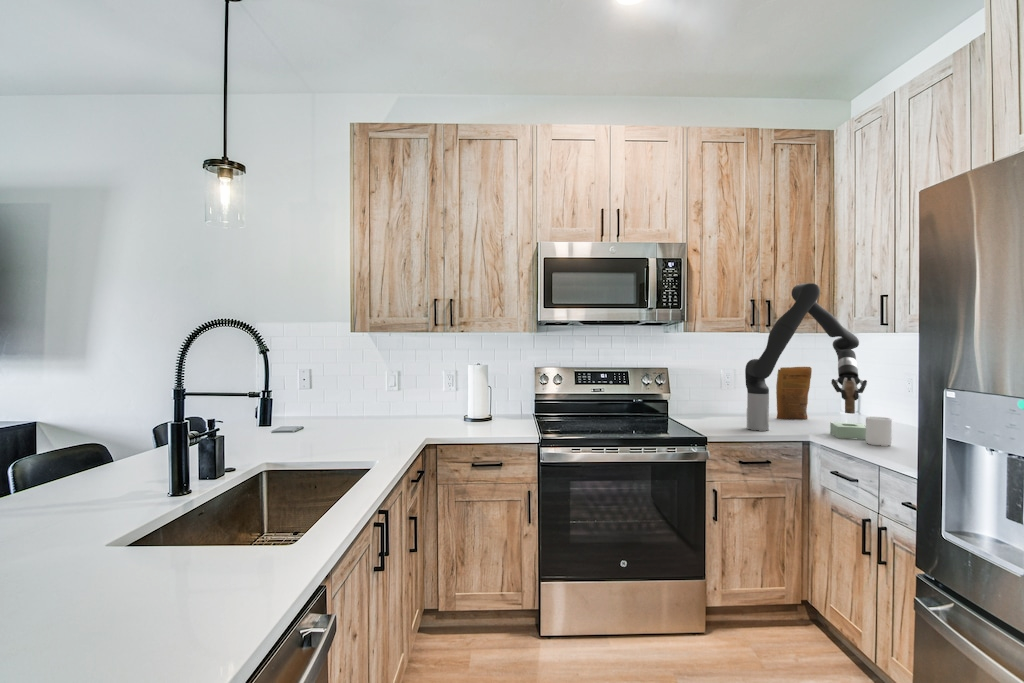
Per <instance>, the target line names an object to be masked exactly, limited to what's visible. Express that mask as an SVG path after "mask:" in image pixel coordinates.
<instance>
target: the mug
mask: <svg viewBox="0 0 1024 683" xmlns="http://www.w3.org/2000/svg"><path fill="white" fill-rule="evenodd" d="M892 420H893V419H892V418H889V417H884V416H865V426H866V440H865V443H866V444H867V443H868V445H870V444H872V445H871V446H875V445H881V446H880V447H889V446H888V445H890V446H891V445H892V436H893V435H892V432H893V431H892V429H893V428H892V427H893V426H892V425H893V424H892Z"/></svg>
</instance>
